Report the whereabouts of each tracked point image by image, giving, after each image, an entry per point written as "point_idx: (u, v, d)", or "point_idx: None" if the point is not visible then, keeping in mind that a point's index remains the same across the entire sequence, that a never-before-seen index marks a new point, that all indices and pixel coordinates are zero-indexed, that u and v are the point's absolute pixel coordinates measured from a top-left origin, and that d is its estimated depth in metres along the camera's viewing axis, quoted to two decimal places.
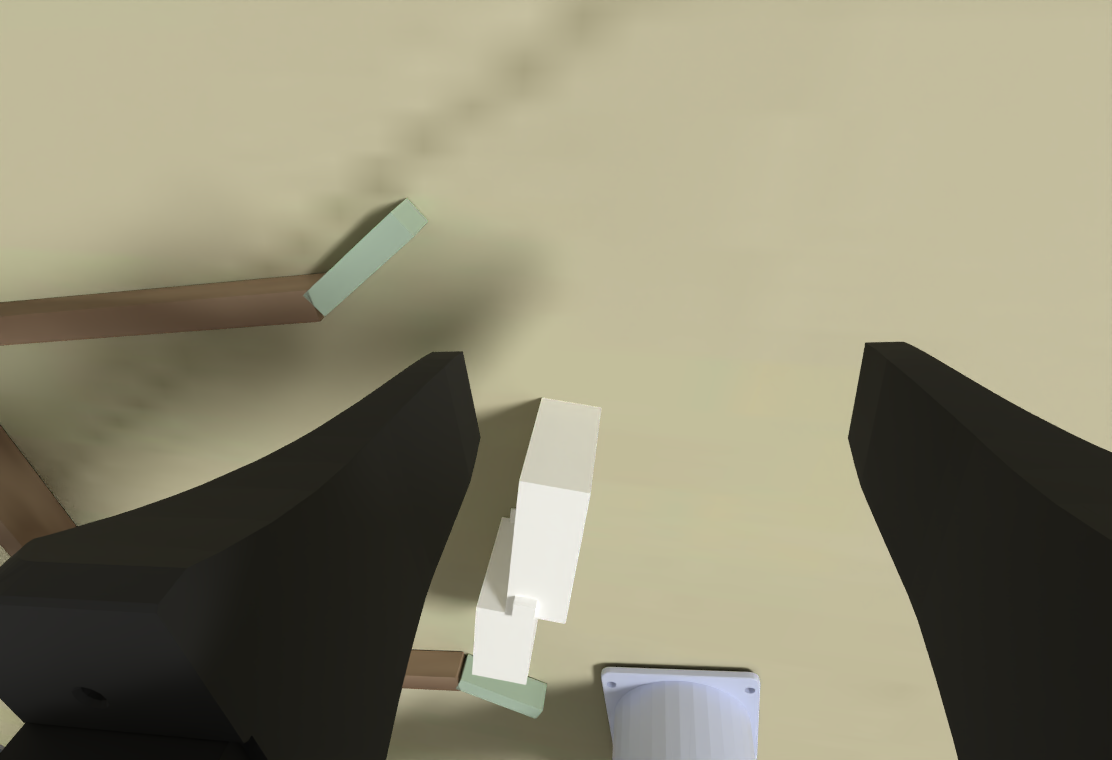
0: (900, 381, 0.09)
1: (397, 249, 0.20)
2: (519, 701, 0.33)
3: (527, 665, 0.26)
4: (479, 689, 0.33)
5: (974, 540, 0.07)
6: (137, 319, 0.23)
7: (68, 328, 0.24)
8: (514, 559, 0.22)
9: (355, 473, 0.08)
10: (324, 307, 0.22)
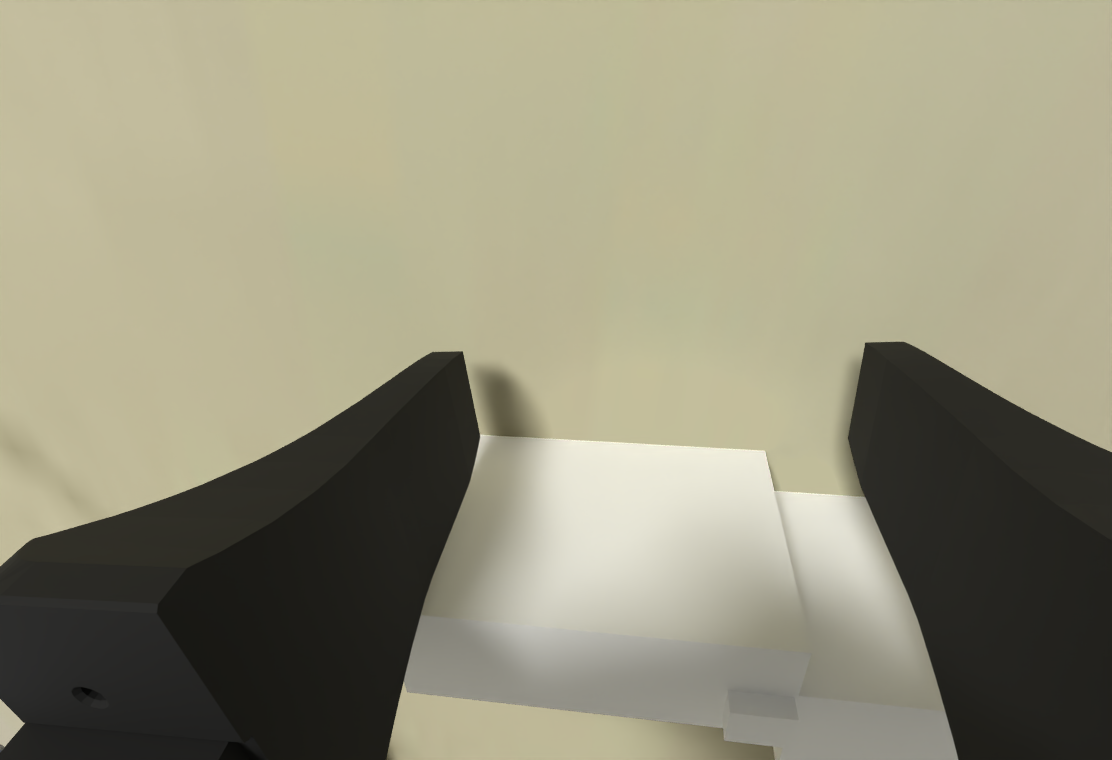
0: (900, 381, 0.09)
1: None
2: None
3: None
4: None
5: (974, 540, 0.07)
6: None
7: None
8: (608, 711, 0.11)
9: (355, 473, 0.08)
10: None
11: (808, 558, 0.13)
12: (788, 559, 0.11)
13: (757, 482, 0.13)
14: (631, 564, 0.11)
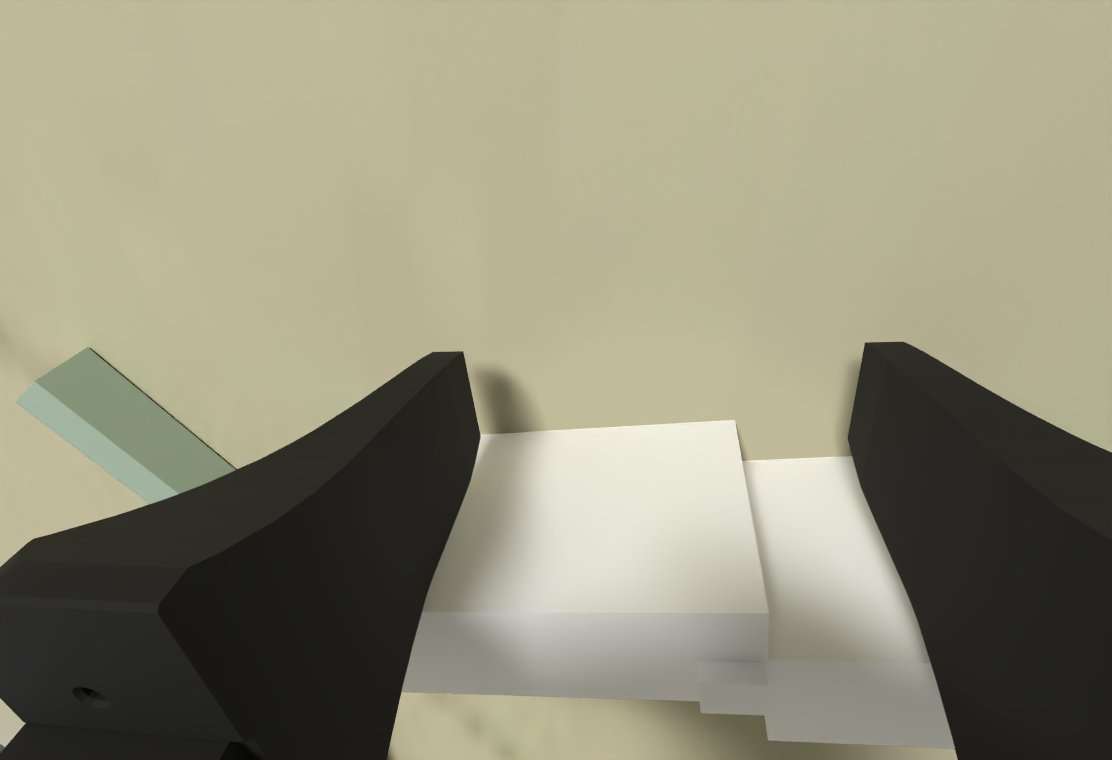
0: (900, 381, 0.09)
1: (65, 406, 0.14)
2: None
3: None
4: None
5: (974, 540, 0.07)
6: None
7: None
8: (586, 693, 0.11)
9: (355, 473, 0.08)
10: None
11: (784, 523, 0.12)
12: (751, 523, 0.11)
13: (724, 450, 0.13)
14: (592, 543, 0.11)
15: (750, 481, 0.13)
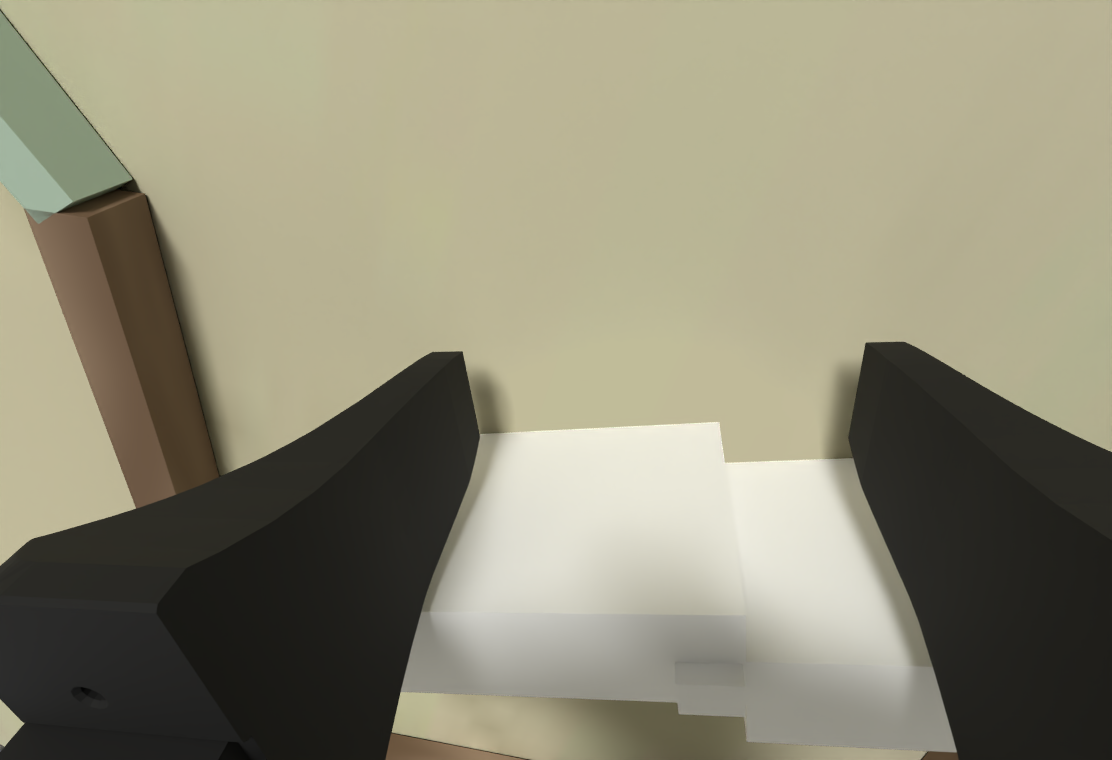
0: (900, 381, 0.09)
1: None
2: None
3: None
4: None
5: (975, 540, 0.07)
6: None
7: None
8: (566, 694, 0.11)
9: (354, 473, 0.08)
10: (54, 193, 0.11)
11: (766, 525, 0.12)
12: (731, 525, 0.11)
13: (707, 453, 0.13)
14: (573, 544, 0.11)
15: (734, 484, 0.13)
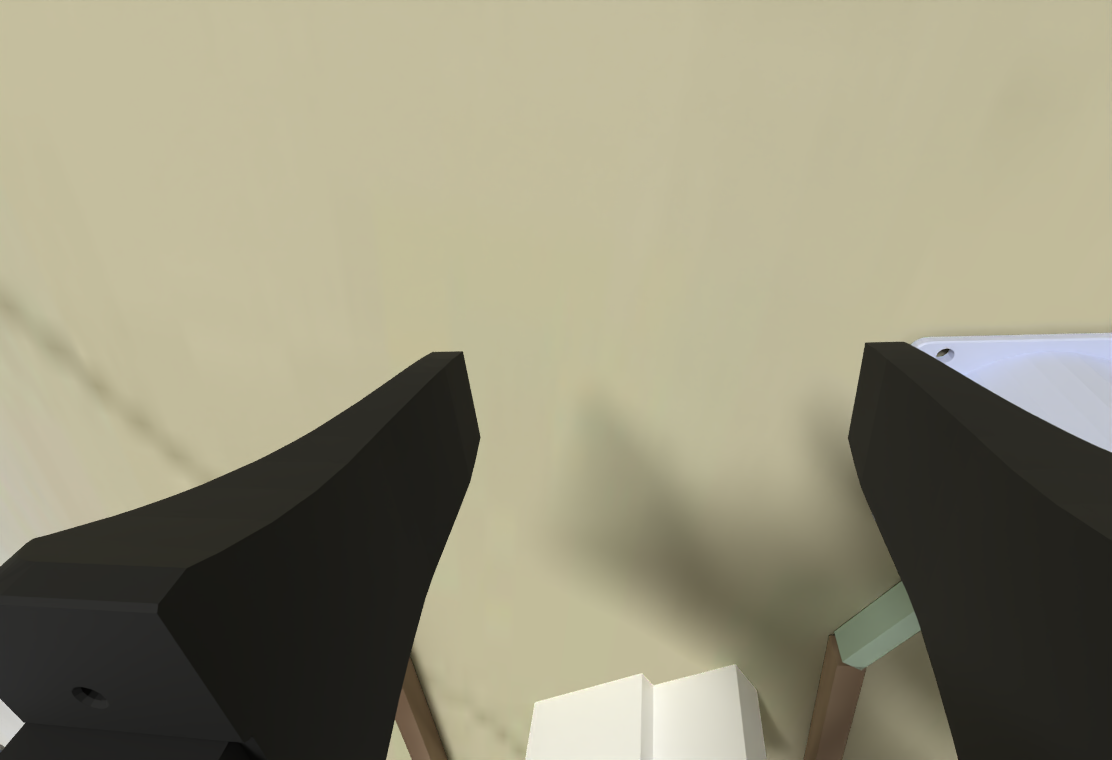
0: (900, 381, 0.09)
1: None
2: (899, 621, 0.25)
3: None
4: (865, 651, 0.26)
5: (974, 540, 0.07)
6: (404, 718, 0.34)
7: (419, 749, 0.36)
8: None
9: (355, 473, 0.08)
10: None
11: (666, 718, 0.30)
12: (640, 732, 0.29)
13: (636, 692, 0.31)
14: (590, 751, 0.30)
15: (657, 696, 0.32)
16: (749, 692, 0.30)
